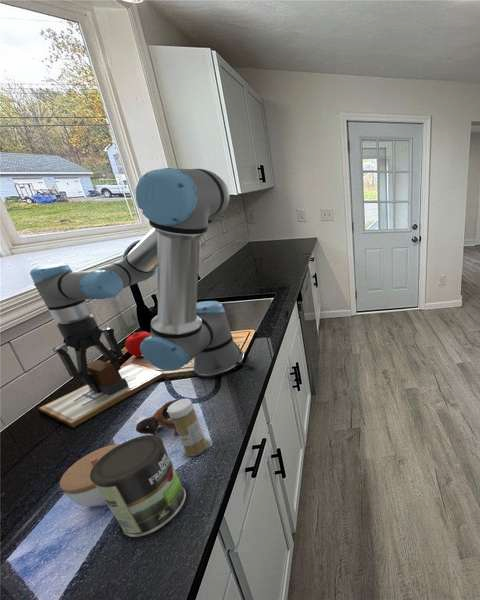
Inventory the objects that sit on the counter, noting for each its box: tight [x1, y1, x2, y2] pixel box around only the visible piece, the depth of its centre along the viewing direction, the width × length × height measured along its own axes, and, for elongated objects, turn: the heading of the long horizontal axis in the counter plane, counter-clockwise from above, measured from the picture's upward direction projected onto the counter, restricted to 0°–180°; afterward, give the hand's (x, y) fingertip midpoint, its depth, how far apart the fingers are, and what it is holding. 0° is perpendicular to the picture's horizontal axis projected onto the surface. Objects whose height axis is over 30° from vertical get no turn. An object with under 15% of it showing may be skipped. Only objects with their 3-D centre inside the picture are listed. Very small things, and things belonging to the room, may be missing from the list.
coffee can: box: [90, 434, 187, 538], centre depth 59 cm, size 10×10×14 cm
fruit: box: [124, 331, 151, 358], centre depth 117 cm, size 9×9×10 cm
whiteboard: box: [38, 362, 165, 428], centre depth 97 cm, size 18×24×2 cm
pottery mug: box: [135, 398, 196, 437], centre depth 80 cm, size 12×10×8 cm
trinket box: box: [59, 443, 121, 508], centre depth 64 cm, size 11×11×9 cm
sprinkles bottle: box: [167, 398, 208, 457], centre depth 72 cm, size 5×5×13 cm
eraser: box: [87, 359, 128, 395], centre depth 96 cm, size 11×5×8 cm, turn 67°
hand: (108, 385), depth 97 cm, fingers closed on eraser, 5 cm apart
